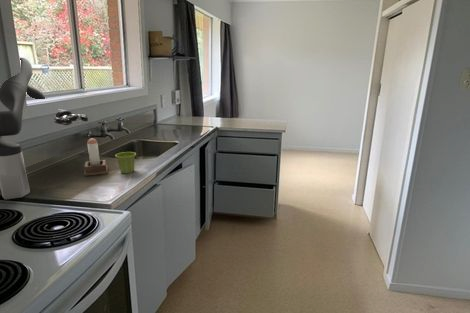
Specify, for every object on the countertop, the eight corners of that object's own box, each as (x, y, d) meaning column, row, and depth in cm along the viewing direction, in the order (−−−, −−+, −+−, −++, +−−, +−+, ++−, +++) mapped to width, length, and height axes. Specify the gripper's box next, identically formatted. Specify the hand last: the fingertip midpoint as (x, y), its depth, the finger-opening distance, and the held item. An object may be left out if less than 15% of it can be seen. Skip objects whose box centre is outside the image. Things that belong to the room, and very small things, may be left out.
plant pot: (116, 169, 156) (114, 152, 153) (136, 167, 160) (134, 150, 157) (117, 175, 148) (115, 158, 145) (138, 173, 151) (137, 155, 149)
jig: (107, 173, 151) (106, 165, 150) (84, 175, 148) (83, 167, 147) (107, 166, 160) (106, 159, 159) (85, 169, 157) (84, 161, 156)
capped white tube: (100, 169, 152) (96, 138, 148) (90, 170, 151) (86, 139, 147) (100, 167, 156) (96, 137, 152) (91, 168, 155) (86, 137, 151)
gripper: (46, 111, 157) (61, 114, 147) (75, 108, 167) (91, 111, 158) (49, 126, 159) (64, 130, 149) (77, 122, 170) (93, 125, 160)
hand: (78, 120), depth 154 cm, fingers open, 8 cm apart
